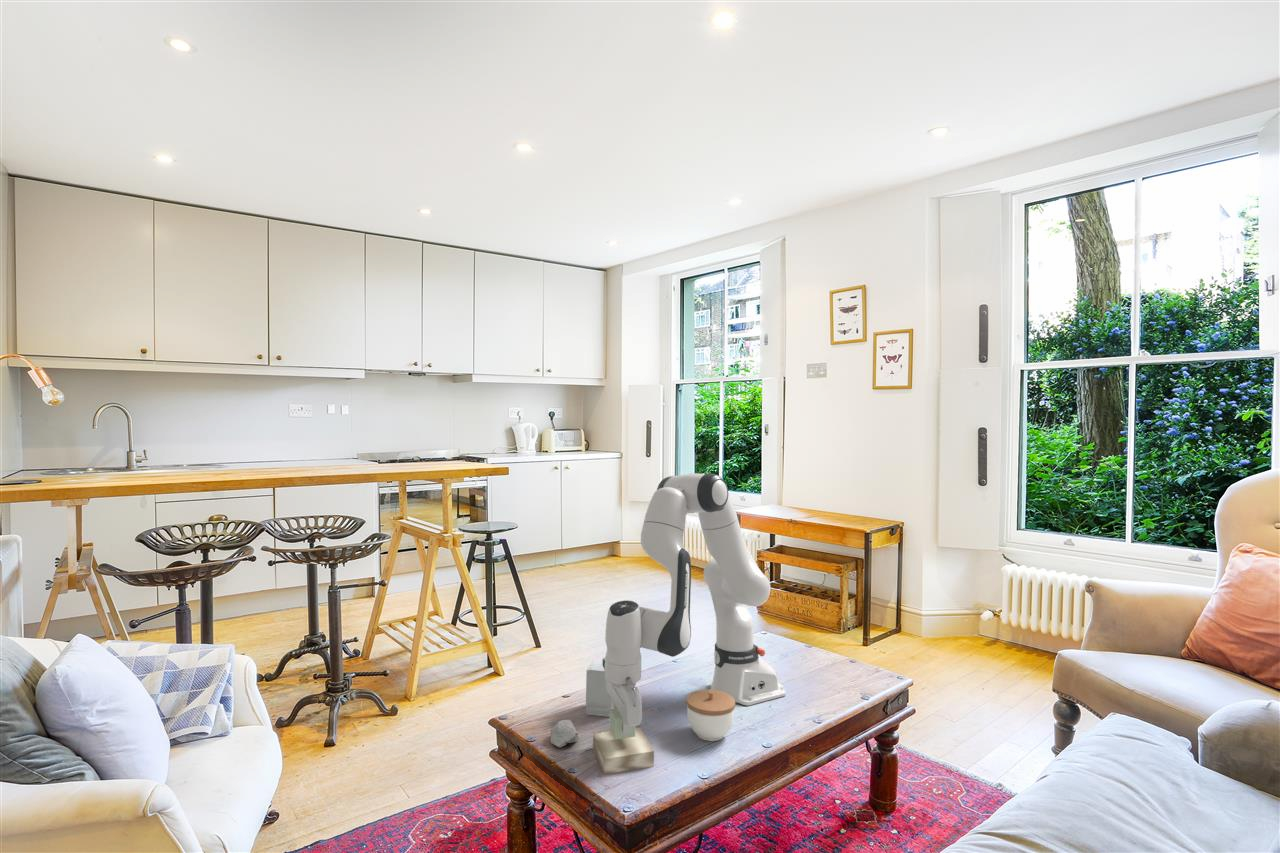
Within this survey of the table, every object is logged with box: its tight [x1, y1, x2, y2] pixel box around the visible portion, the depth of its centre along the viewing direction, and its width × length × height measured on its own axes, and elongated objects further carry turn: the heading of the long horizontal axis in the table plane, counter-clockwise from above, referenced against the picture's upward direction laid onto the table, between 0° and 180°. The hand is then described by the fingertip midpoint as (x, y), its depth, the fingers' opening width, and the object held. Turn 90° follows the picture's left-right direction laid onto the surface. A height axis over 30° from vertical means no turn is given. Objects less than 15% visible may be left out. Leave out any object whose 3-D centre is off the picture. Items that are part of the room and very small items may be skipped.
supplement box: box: [585, 660, 614, 718], centre depth 180 cm, size 7×7×13 cm
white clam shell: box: [549, 719, 579, 749], centre depth 163 cm, size 9×8×5 cm
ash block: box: [592, 726, 655, 775], centre depth 156 cm, size 12×12×4 cm
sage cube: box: [609, 709, 636, 740], centre depth 156 cm, size 5×5×5 cm
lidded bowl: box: [686, 689, 736, 742], centre depth 167 cm, size 13×13×11 cm
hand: (622, 726), depth 156 cm, fingers closed on sage cube, 5 cm apart
